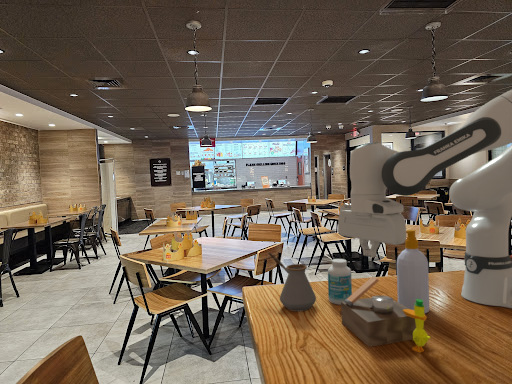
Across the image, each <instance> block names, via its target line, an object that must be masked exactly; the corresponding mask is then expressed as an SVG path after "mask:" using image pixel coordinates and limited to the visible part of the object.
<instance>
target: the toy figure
mask: <svg viewBox="0 0 512 384" xmlns="http://www.w3.org/2000/svg"><path fill="white" fill-rule="evenodd" d="M414 305H415V306H414V310H411V309H404V310H403V312H404V313H405V315H406V316H409V317H411V318H414V319H415V323H416V329H415V330H414V331H413V339H412V341H414V343H415V346H412V347H411V349H412V351H414V352H416V353H419V354H420V353H423V352H424V351H425V349H424V348H423V347H424V346H425V345H426V344H427V342H428V341H429V340H430V339H431V336H429V335H428V333H427V331H426V330H425V329H424V325H425V321H427V318H428V317H427V316H426V314H425V313H424V304H423V300H421V299H416V303H414Z"/></svg>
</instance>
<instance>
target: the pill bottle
mask: <svg viewBox="0 0 512 384" xmlns="http://www.w3.org/2000/svg"><path fill="white" fill-rule="evenodd" d="M347 262H348V261H347V260H346V259H345V258H334V259H331V266H330V267H329V268H328V269H327V285H328V286H327V289H328V290H327V292H328V301H329V302H330V303H332V304H335V305H340V306H341V302H344V300H345V299H347V298H348V297H350V296H351V295H352V294H353V287H352V286H353V285H352V269H351V268H350V267H348V266H347V264H348V263H347Z"/></svg>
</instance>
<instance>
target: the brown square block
mask: <svg viewBox="0 0 512 384" xmlns="http://www.w3.org/2000/svg"><path fill="white" fill-rule="evenodd" d="M340 306H341V307H340V308H341V310H340V311H341V324H342V325H343V326H344V327H346V328H347V329H348V330H349V331H351V332H352V333H353V334H354V335H355V336H356V337H357V338H358V339H359V340H361V341H362V342H363V343H364V344H365V345H366V346H368V347H375V346H383V345H388V344H392V343H393V344H394V343H400V342H406V341H413V331H414V330H415V329H416V323H415V319H414V318H411V317H409V316H406V315H405V313H404V312H403V310H404V309H409V308H407V307H405V306H404V305H402V304H400V303H398V301H397V300H395V299H393V311H394V312H393V313H392V314H388V315H383V314H377V313H375V312H373V311H372V297H366V298H359V299H358V300H357V301H356V302H355V303H354V304H353V306H349V305H348V304H346V303H345V302H341V305H340Z"/></svg>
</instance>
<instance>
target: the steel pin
mask: <svg viewBox="0 0 512 384" xmlns="http://www.w3.org/2000/svg"><path fill="white" fill-rule="evenodd" d="M371 298H372V311H373V312H375V313H377V314H383V315H388V314H392V313H393V312H394V311H393V300H394V298H392V297H391V296H388V295H374V296H371Z"/></svg>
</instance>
